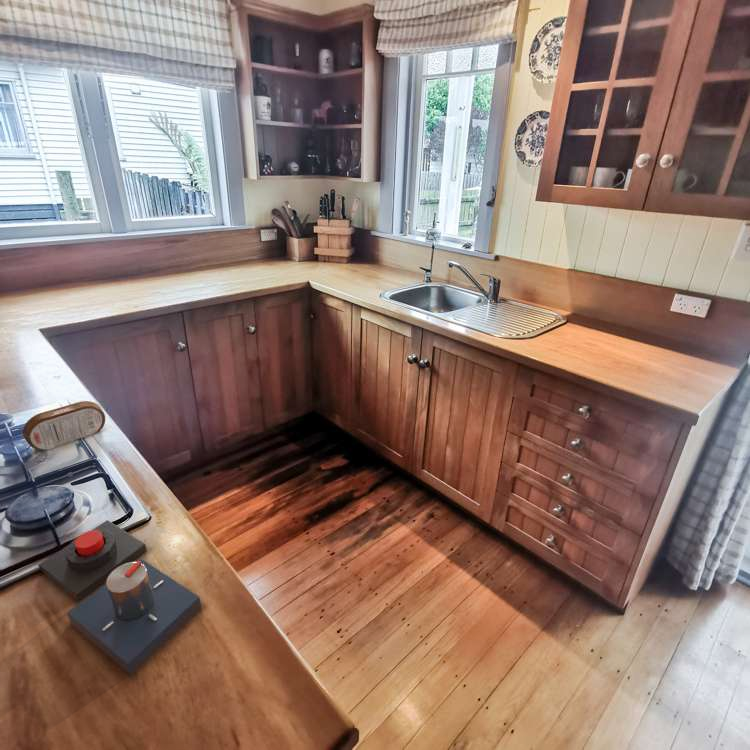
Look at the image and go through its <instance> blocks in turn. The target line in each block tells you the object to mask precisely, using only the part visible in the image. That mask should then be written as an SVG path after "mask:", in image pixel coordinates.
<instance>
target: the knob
mask: <svg viewBox="0 0 750 750" xmlns="http://www.w3.org/2000/svg"><path fill="white" fill-rule="evenodd" d="M136 561H137V560H136ZM136 561H133V562H130V563H126V564H123V565H121V566H119V567H117V568H116V569H115V570H113V571H112V572H111V573H110V575H109V576H108V578H107V581H106V582H105V584H106V586H107V589H108V593H109V596H110V599H111V602H112V605H113V608H114V611H115V614H116V616H117V617H118V618H120V619H122V620H132V619H136V618H138V617H140V616H142V615H143V614H145V613H146V612H147V611H148V610H149V609H150V607H151V606H152V604H153V600H154V597H153V593H152V589H151V585H150V582H149V578H148V574H147V570H146V567H145V566H144V565H143V564H141V562H139V561H137V562H136Z"/></svg>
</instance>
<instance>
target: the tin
mask: <svg viewBox="0 0 750 750" xmlns="http://www.w3.org/2000/svg"><path fill="white" fill-rule="evenodd" d="M105 424H106V414H105V412H104V411H103V409H102V407H100V405H99V404H98V403H96V402H94V401H90V400H83V401H82V400H81V401H77V402H75V403H72V404H67V405H64V406H60V407H57V408H54V409H50V410H46V411H43V412H40V413H37V414H35V415H33V416H32V417H31V418H29V419H28V420H27V421H26V423H25V424H24V426H23V428H22V436H23V438H24V440H25V441H26V443H27V444H28V445H29V446H30V447H31V448H33V449H34V450H37V451H42V452H45V451H48V450H50V449H53V448H56V447H59V446H62V445H65V444H68V443H71V442H74V441H77V440H80V439H82V438H85V437H88V436H91V435H93V434H97V433H100V432H101V431H102V429H103V428H104V426H105Z"/></svg>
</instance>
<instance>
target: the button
mask: <svg viewBox="0 0 750 750" xmlns="http://www.w3.org/2000/svg"><path fill="white" fill-rule="evenodd" d="M91 530H92V531H91ZM91 530H88V531H84V532H83V533H81V534H80V535H78V537H76V538H77V539H76V538H75V539H76V541H75V546H76V549H77V552H78V554H79V555H80V556H90V555H93V554H95V553H97V552H98V551H100V550H101V549H102V548H103V546H104V540H103V537H102V534H101V532H99V531H96V530H93V529H91Z"/></svg>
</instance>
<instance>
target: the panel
mask: <svg viewBox="0 0 750 750" xmlns="http://www.w3.org/2000/svg"><path fill="white" fill-rule="evenodd" d="M137 561H139V562H141V564H143V565H144V566H145V567H146V570H147V574H148V578H149V582H150V585H151V589H152V593H153V597H154V600H153V604H152V606H151V607H150V609H149V610H148V611H147V612H146V613H145V614H143V615H142V616H140V617H138V618H136V619H132V620H122V619H120V618H118V617H117V616H116V614H115V611H114V608H113V605H112V602H111V599H110V596H109V593H108V589H107V586H106V583H104V585H101V586H100V587H99V589H98V588H97V589H96V590H95V591H93V592H92V593H91V594H89V595H88V596H87V597H85V598H84V599H83V600H82V601H80V603H78V605H76V606H74V607H72V609H71V610H69V611H68V612H67V613H66V614H67V616H68V620H69V622H70V624H71V626H72V627H74V628H75V629H76V630H77V631H79V632H80V633H81V634H82V635H83V636H85V638H87V639H88V640H89V641H90V642H92V644H93V645H95V646H96V647H98V648H99V649H100V650H101V651H102V652H103V653H104V654H106V655H107V656H108V657H109V658H110V659H111V660H113V661H114V662H115V663H116V664H118V665H119V666H120V667H121V668H122V669H123V670H124V671H126V672H127V673H128V674H129V675H130V676H132V675H133V674H134V673H136V672H137V670H138V669H139V668H140V667H142V666H143V665H144V664H145V663H146V662H147V661H148V660H149V659H150V658H151V657H152V656H153V655H154V654H155V653H156V652H157V651H159V649H161V648H162V647H163V646H164V645H165V644H166V643H167V642H168V641H169V640H170V639H171V638H172V637H173V636H174V635H175V634H177V632H179V630H180V629H182V627H184V625H186V624H187V623H188V622H189V621H190V620H191V619H192V618H193V617H195V615H196V614H197V613H198V612H199V611H200V610H201V609H202V602H201V597H200V596H199V595H197V594H196V593H194V592H193V591H191V590H190V589H188V588H187V587H185V586H184V585H182V584H181V583H179V582H177V581H176V580H174V579H173V578H172V577H171V576H168V574H165V573H164V572H163V571H161V570H160V569H158V568H157V567H155V566H154V565H152V564H151V563H150V562H147V561H146V560H144V559H143V558H142V557H139V558H137V559H136V560H135V562H137Z"/></svg>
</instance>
